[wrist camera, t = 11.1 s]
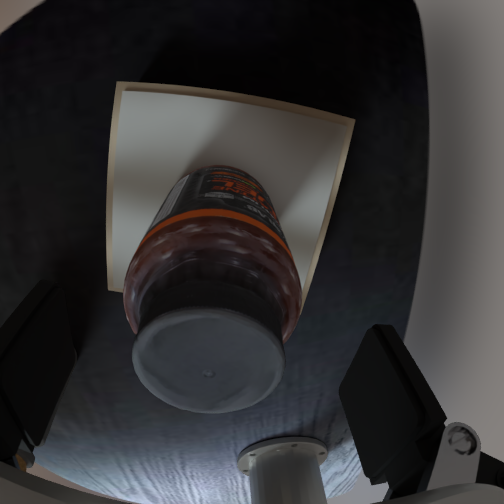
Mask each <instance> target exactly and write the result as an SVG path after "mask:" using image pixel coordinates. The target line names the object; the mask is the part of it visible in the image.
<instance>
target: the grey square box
mask: <svg viewBox="0 0 504 504" xmlns="http://www.w3.org/2000/svg"><path fill="white" fill-rule="evenodd" d="M354 123H355V119H351V118H348V117H344V116H341V115H337V114H333V113H330V112H326V111H322V110H318V109H314V108H310V107H305V106H301V105H297V104H292V103H288V102H283V101H278V100H273V99H268V98H263V97H258V96H252V95H246V94H240V93H234V92H227V91H221V90H213V89H206V88H198V87H189V86H179V85H168V84H155V83H138V82H117V85H116V92H115V99H114V107H113V115H112V125H111V135H110V146H109V160H108V176H107V204H106V250H107V277H108V290H111V291H117V292H123V288H124V280H125V277H126V272H127V270H128V267H129V264H130V262H131V260H132V257H133V256H134V254H135V252H136V250H137V248H138V246H139V244H140V242H141V240H142V239H143V237H144V235H145V233H146V232H147V230H148V228H149V226H150V225H151V223H152V221H153V219H154V217H155V216H156V214H157V212H158V211H159V209H160V207H161V205H162V204H163V202H164V200H165V199H166V197H167V195H168V194H169V192H170V190H171V189H172V188H173V187H174V186H175V184H176V183H177V182H178V181H179V180H180V179H181V178H182V177H184V176H185V175H186V174H188V173H190V172H191V171H193V170H195V169H198V168H201V167H204V166H210V165H226V166H231V167H235V168H238V169H241V170H243V171H245V172H247V173H248V174H250V175H251V176H253V177H254V178H255V179H256V180H257V181H258V182H259V183H260V184H261V185H262V187H263V188H264V190H265V191H266V193H267V194H268V195H269V197H270V200H271V202H272V204H273V207H274V209H275V212H276V215H277V217H278V220H279V223H280V226H281V228H282V231H283V233H284V236H285V238H286V241H287V243H288V246H289V249H290V250H291V253H292V256H293V259H294V263H295V265H296V268H297V271H298V274H299V278H300V283H301V288H302V303H301V311H302V308H303V305H304V302H305V299H306V296H307V293H308V290H309V287H310V283H311V280H312V277H313V274H314V271H315V267H316V264H317V261H318V258H319V254H320V251H321V248H322V244H323V241H324V238H325V234H326V231H327V227H328V224H329V220H330V217H331V213H332V210H333V206H334V202H335V199H336V195H337V191H338V188H339V184H340V180H341V176H342V172H343V168H344V165H345V161H346V157H347V153H348V149H349V144H350V140H351V136H352V132H353V128H354ZM301 311H300V314H301Z"/></svg>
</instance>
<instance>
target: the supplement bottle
mask: <svg viewBox="0 0 504 504" xmlns="http://www.w3.org/2000/svg"><path fill="white" fill-rule="evenodd" d="M123 299H124V307H125V312H126V316H127V319H128V321H129V323H130V325H131V328H132V330H133V331H134V333H135V334H136V336H135V340H134V344H133V349H132V361H133V365H134V369H135V372H136V373H137V375H138V377H139V379H140V381H141V382H142V383H143V384H144V386H145V387H146V388H147V389H148V390H149V391H150V392H151V393H153V394H154V395H155V396H157V397H158V398H159V399H161V400H163V401H165V402H166V403H168V404H170V405H172V406H175V407H177V408H180V409H185V410H190V411H193V412H202V413H222V412H224V413H227V412H231V411H234V410H240V409H243V408H246V407H249V406H251V405H254V404H255V403H257V402H259V401H261V400H263V399H264V398H266V397H267V396H268V395H269V394H270V393H271V392H272V391H273V390H274V389H275V388H276V386H277V385H278V384H279V382H280V381H281V379H282V377H283V374H284V370H285V363H286V359H285V352H284V347H283V344H284V343H285V342H286V341H287V340H288V338H289V337H290V335H291V334H292V332H293V330H294V328H295V327H296V324H297V322H298V319H299V315H300V311H301V303H302V288H301V283H300V278H299V274H298V271H297V268H296V265H295V263H294V259H293V256H292V253H291V250H290V249H289V246H288V243H287V241H286V238H285V236H284V233H283V231H282V228H281V226H280V223H279V220H278V217H277V215H276V212H275V209H274V207H273V204H272V202H271V200H270V197H269V195H268V194H267V193H266V191H265V190H264V188H263V187H262V185H261V184H260V183H259V182H258V181H257V180H256V179H255V178H254V177H253V176H251V175H250V174H248V173H247V172H245V171H243V170H241V169H238V168H235V167H231V166H226V165H210V166H204V167H201V168H198V169H195V170H193V171H191V172H190V173H188V174H186V175H185V176H184V177H182V178H181V179H180V180H179V181H178V182H177V183H176V184H175V186H174V187H173V188H172V189H171V190H170V192H169V194H168V195H167V197H166V199H165V200H164V202H163V204H162V205H161V207H160V209H159V211H158V212H157V214H156V216H155V217H154V219H153V221H152V223H151V225H150V226H149V228H148V230H147V232H146V233H145V235H144V237H143V239H142V240H141V242H140V244H139V246H138V248H137V250H136V252H135V254H134V256H133V257H132V260H131V262H130V264H129V267H128V270H127V272H126V277H125V280H124V288H123Z"/></svg>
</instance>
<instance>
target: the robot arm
mask: <svg viewBox="0 0 504 504" xmlns="http://www.w3.org/2000/svg"><path fill="white" fill-rule="evenodd" d="M75 359H76V355H75V350H74V345H73V340H72V335H71V329H70V324H69V318H68V311H67V305H66V298H65V292H64V290H63V289H61V288H60V285H59V284H58V283H55V282H51V281H46V280H41V281H39V282H38V283H37V285H36V286H35V287H34V288H33V289H32V290H31V291H30V293H29V294H28V295H27V296H26V297H25V298H24V300H23V301H22V302H21V303H20V304H19V306H18V307H17V308H16V309H15V311H14V312H13V313H12V314H11V315H10V317H9V318H8V319H7V320H6V322H5V323H4V324H3V326H2V327H1V328H0V504H131V503H126V502H121V501H117V500H112V499H108V498H104V497H100V496H96V495H93V494H89V493H86V492H82V491H79V490H76V489H72V488H69V487H66V486H63V485H60V484H57V483H54V482H51V481H48V480H45V479H42V478H40V477H37V476H34V475H32V474H29V473H27V472H24V471H22V470H21V469H20V466H19V464H18V461H17V458H16V456H15V455H16V453H17V450H18V448H19V449H22V450H24V451H26V452H29V453H31V454H32V453H33V450H34V447H35V446H39V445H40V443H41V441H42V439H43V436H44V434H45V431H46V429H47V426H48V424H49V421H50V419H51V416H52V414H53V411H54V409H55V407H56V404H57V402H58V400H59V397H60V395H61V393H62V391H63V388H64V386H65V384H66V382H67V380H68V377H69V375H70V373H71V371H72V369H73V367H74V364H75ZM339 396H340V399H341V402H342V405H343V408H344V411H345V414H346V418H347V421H348V424H349V427H350V430H351V433H352V436H353V439H354V443H355V446H356V449H357V452H358V455H359V458H360V462H361V465H362V468H363V471H364V474H365V476H366V477H368V478H369V479H370V482H371V485H376V484H381V483H386V482H388V485H389V489H388V491H387V493H386V495H385V497H384V499H383V501H382V502H377V503H372V504H504V463H503V462H502V461H499V460H497V459H495V458H493V457H491V456H489V455H487V454H485V453H483V452H481V451H480V450H481V443H480V439H479V437H478V435H477V433H476V432H475V431H474V430H473V429H472V428H471V427H470V426H468V425H466V424H464V423H460V422H454V423H451V424H449V425H448V426H446V427H445V425H444V422H445V421H446V419H447V417H446V415H445V413H444V411H443V410H442V408H441V406H440V404H439V402H438V400H437V399H436V397H435V395H434V393H433V392H432V390H431V388H430V387H429V385H428V383H427V381H426V380H425V378H424V376H423V374H422V373H421V371H420V369H419V368H418V366H417V365H416V363H415V361H414V359H413V358H412V356H411V355H410V353H409V351H408V350H407V348H406V346H405V345H404V343H403V342H402V340H401V338H400V337H399V335H398V334H397V332H396V330H395V329H394V327H393V326H392V325H382V324H375V325H373V326H372V328H370V329H368V330H367V332H366V334H365V336H364V338H363V340H362V342H361V344H360V347H359V349H358V351H357V353H356V355H355V357H354V359H353V361H352V363H351V365H350V367H349V369H348V371H347V373H346V375H345V377H344V379H343V381H342V383H341V385H340V387H339ZM327 456H328V452H327V447H326V446H325V444H324V443H323V442H321V441H319V440H317V439H313V438H309V437H283V438H276V439H271V440H267V441H263V442H260V443H257V444H255V445H252V446H250V447H248V448H247V449H245V450H244V451H242V452H241V453H240V454H239V456H238V458H237V467H238V469H239V471H241V472H242V473H243V474H245V475H247V476H249V479H250V492H251V504H327V500H326V496H325V491H324V486H323V482H322V477H321V472H320V468H319V466H320V465H321V464H322V463H323V462H324V461H325V460H326V458H327Z"/></svg>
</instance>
